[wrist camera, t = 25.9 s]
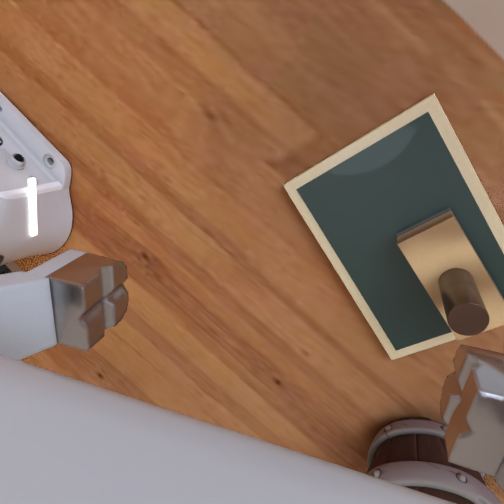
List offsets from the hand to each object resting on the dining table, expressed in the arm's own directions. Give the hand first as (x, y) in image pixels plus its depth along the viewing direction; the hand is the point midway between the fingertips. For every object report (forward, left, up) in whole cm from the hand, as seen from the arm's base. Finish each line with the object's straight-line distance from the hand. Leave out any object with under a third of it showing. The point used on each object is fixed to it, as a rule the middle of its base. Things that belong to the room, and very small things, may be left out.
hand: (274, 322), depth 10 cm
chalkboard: (+11, -1, -31) cm, 33 cm away
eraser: (+15, +2, -30) cm, 33 cm away
